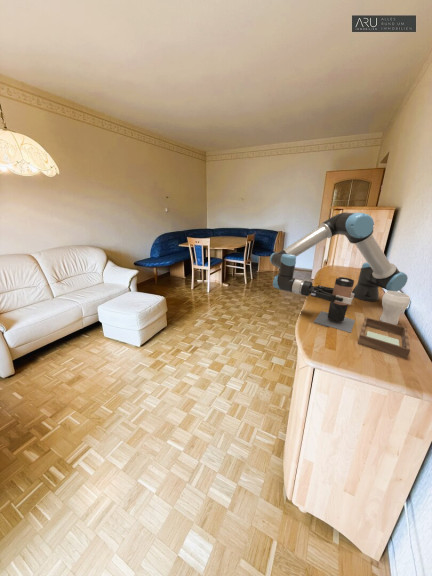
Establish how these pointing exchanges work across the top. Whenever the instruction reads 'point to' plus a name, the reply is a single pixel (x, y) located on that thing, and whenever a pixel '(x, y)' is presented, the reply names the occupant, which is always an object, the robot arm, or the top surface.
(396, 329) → the brown wooden tray
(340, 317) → the travel mug
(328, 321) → the charcoal mat
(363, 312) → the top surface
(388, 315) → the cup
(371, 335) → the top offcut
